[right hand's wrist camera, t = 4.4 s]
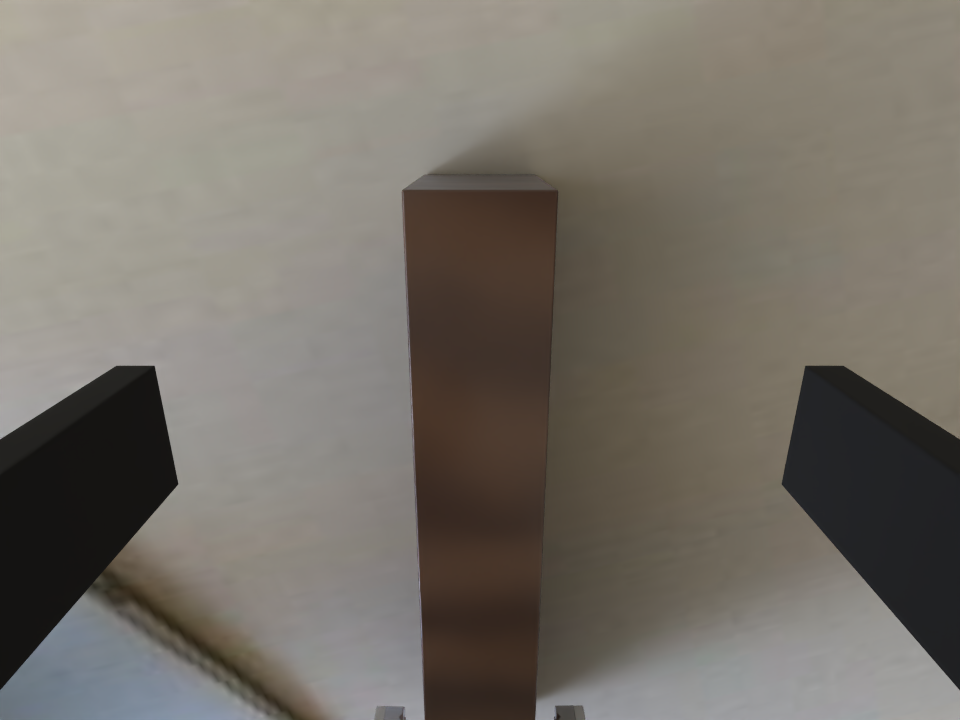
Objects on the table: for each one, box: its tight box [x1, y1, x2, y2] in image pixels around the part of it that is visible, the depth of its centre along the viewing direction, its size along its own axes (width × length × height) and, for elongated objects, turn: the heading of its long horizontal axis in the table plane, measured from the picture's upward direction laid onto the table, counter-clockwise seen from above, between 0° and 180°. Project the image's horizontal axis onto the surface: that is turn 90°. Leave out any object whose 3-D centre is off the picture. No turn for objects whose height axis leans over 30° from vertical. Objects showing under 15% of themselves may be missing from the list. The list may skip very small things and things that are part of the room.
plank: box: [402, 175, 558, 720], centre depth 29 cm, size 32×5×8 cm, turn 0°
